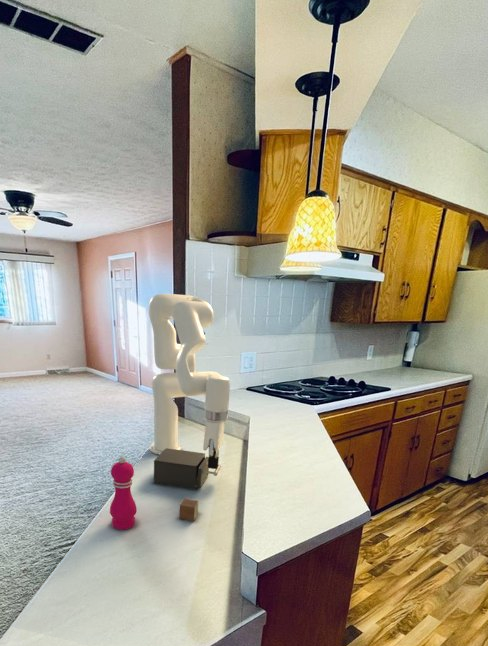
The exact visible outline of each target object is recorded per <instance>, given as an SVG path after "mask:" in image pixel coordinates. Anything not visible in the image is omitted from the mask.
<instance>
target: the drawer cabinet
mask: <svg viewBox="0 0 488 646" xmlns="http://www.w3.org/2000/svg"><path fill="white" fill-rule="evenodd" d="M205 458H206V453H204V452H197V451H189V450H182V449H181V450H176V449H169V448H166V449H165V450H164V451H163V452H162V453H161V454H160V455H157V456H156V457H155V458H154V459H153V484H154V485H160V486H166V487H173V488H180V489H186V490H193V491H196V489H197V488H198V487H197V482H198V479H197V481H196V474H197V467H198V465H199V464H200V462H201V461H202V462H203V461H204V459H205Z"/></svg>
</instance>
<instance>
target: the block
mask: <svg viewBox="0 0 488 646" xmlns="http://www.w3.org/2000/svg"><path fill="white" fill-rule="evenodd" d="M199 502H200V500H199V499H198V500H197V499H191V498H183V499H182V501H181V502H180V504H179V511H178V515H179V516H178V519H179V520H183V521H184V520H186V521H190V522H195V520H196V518H197V516H198V515H199V504H200V503H199Z"/></svg>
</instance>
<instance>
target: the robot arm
mask: <svg viewBox="0 0 488 646" xmlns="http://www.w3.org/2000/svg"><path fill="white" fill-rule="evenodd" d="M148 316H149V321H150V324H151V328H152V332H153V355H154V363H155V366H156V367H157V368H158V369H160V370H175V372H164V373H158V374H156V375H155V376H153V378H152V380H151V390H152V394H153V444H151V445H150V446H149V450H150V452H151V453H153V454H155V455H157V456H159V455H160V454H161V453H162V452H163V451H164V450H165V449H166V448H169V449H176V450H182V448H181V446H180V445H178V431H179V428H178V427H179V408H178V405H177V404H176V402H175V401H174V400H173V399H175V398H185V397H196V396H205V400H204V421H206V422H205V427H204V435H203V446H202V447H203V451H206V450H208V456H207V457H208V468H209V469H211V470H215V469H217V468H218V465H219V461H220V460H219V459H220V457H219V455H220V449H221V447H222V445H223V444H224V443H223V442H224V435H225V423H226V422H228V418H229V405H230V404H229V403H230V392H231V391H230V390H231V379H230V378H229V377H227V376H223V375H221V374H220V373H218V372H217V371H197V369H196V367H197V366H196V361H197V360H196V353H198V352H199V351H201V350H202V349H203V348H205V346H206V345H207V340H206V339H207V338H206V336H205V333H204V329H203V328H209V327H211V325H212V324H213V323H214V320H215V319H214V316H215V314H214V310H213V308H212V306H211V304H209V303H208V302H207V301H205V300H203V299H201V298H199V297H197V296H195V295H190V294H189V295H188V294H178V293H177V294H175V293H158V294H155V295H153V296H152V297H151V299H150V300H149V303H148ZM170 320H173V322H174V325H173V324H172V322H171V321H170ZM174 326H175V327H174ZM177 336H178V339H179V343H177Z"/></svg>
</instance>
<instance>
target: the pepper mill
mask: <svg viewBox="0 0 488 646" xmlns="http://www.w3.org/2000/svg"><path fill="white" fill-rule="evenodd" d="M110 475H111V477H112V482H113V483H112V485H113V487H114V497H113V499H112V502H111V503H110V507H109V514H110V516H111V517H112V518H111V526H112V527H113V528H114V529H116V530H121V531H123V530H129V529H131V528H134V527H135V525H136V517H135V516H136V514H137V511H138V510H137V509H138V508H137V504H136V502H135V500H134V497H133V495H132V491H131V488H132V485H133V477H134V475H135V468H134V466H133V464H131V463H130V462H128V461H127V460H126V457H124V456H120V457H119V458H118V461H117V462H115V463H114V464H112V466H111V469H110Z"/></svg>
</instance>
